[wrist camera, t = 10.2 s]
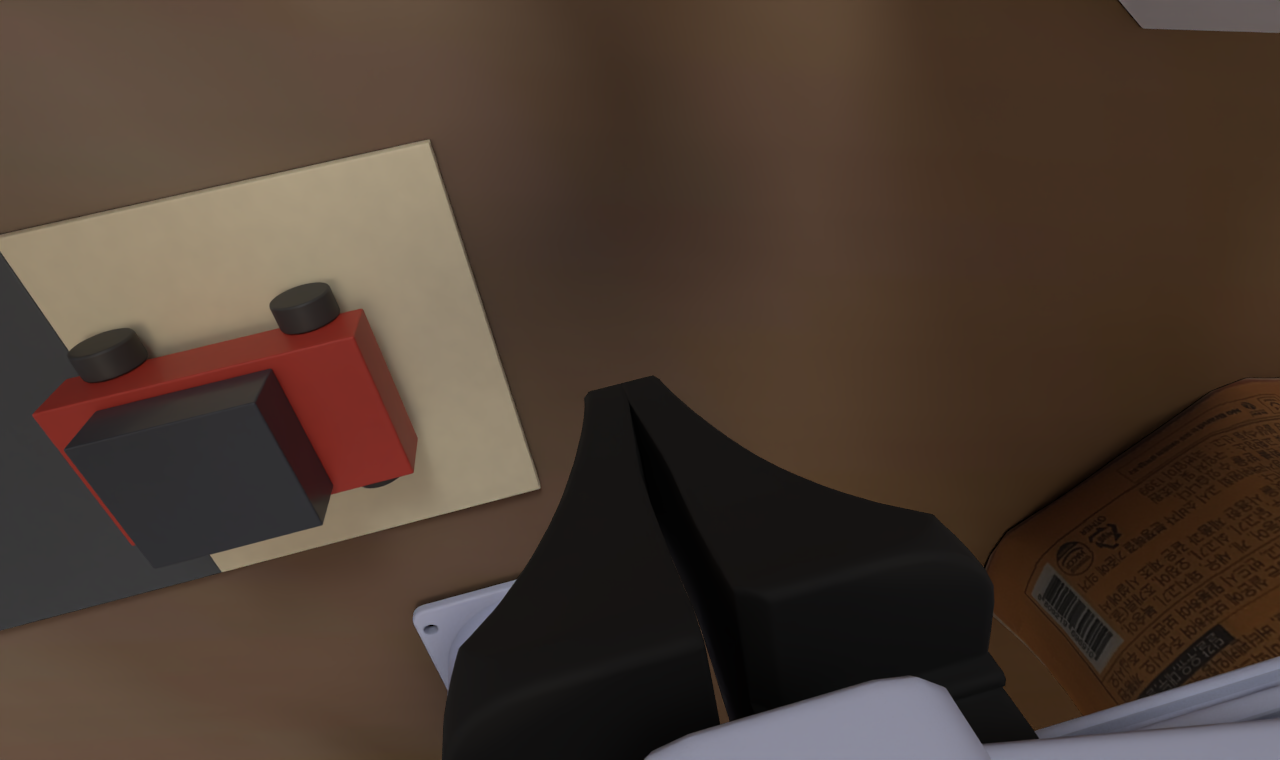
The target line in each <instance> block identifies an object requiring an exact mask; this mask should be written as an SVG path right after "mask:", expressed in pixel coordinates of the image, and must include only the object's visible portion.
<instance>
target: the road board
mask: <svg viewBox="0 0 1280 760" xmlns="http://www.w3.org/2000/svg"><path fill="white" fill-rule="evenodd" d="M315 282H322V283H326V284H328V285H329V286H330V287H331V290H332V292H333V294H334V297H335V299H336V301H337V303H338V306H339V308H340V313H344V312H348V311H353V310H357V309H363V310H364V312H365V315H366V317H367V319H368V322H369V324H370V327H371V329H372V331H373V334H374V336H375V338H376V341H377V343H378V345H379V348H380V350H381V352H382V355H383V357H384V360H385V362H386V364H387V367H388V369H389V371H390V374H391V376H392V378H393V381H394V383H395V385H396V388H397V390H398V393H399V395H400V397H401V400H402V402H403V404H404V407H405V409H406V411H407V414H408V416H409V418H410V421H411V423H412V426H413V428H414V430H415V433H416V435H417V437H418V442H417V450H416V458H415V466H414V473H412V474H409V475H405V476H401V477H399V478H398V479H396V480H395V481H393V482H391V483H390V484H387V485H385V486H382V487H378V488H364V487H359V488H355V489H351V490H347V491H343V492H340V493H336V494H332V495H331V496H330V500H329V504H328V508H327V511H326V515H325V519H324V522H323V525H322V526H318V527H314V528H310V529H307V530H303V531H299V532H295V533H291V534H287V535H284V536H280V537H276V538H272V539H268V540H265V541H261V542H257V543H253V544H249V545H246V546H242V547H238V548H234V549H230V550H226V551H223V552H219V553H215V554H211V555H207V556H204V557H200V558H196V559H192V560H188V561H184V562H181V563H177V564H173V565H169V566H165V567H162V568H158V569H154V568H153V567H152V566H151V564H150V563H149V562H148V560H147V559H146V558H145V557H144V555H143V554H142V553H141V551H140V550H139V549H138V547H137V546H136V545H135V546H132V545H131V544H130V543H129V541H128V540H127V539H126V537H125V536H124V535H123V534H122V532H121V531H120V530H119V528H118V527H117V526H116V524H115V523H114V522H113V520H112V519H111V518H110V517H109V515H108V514H107V513H106V511H105V510H104V509H103V507H102V506H101V505H100V504H99V502H98V501H97V500H96V498H95V497H94V496H93V494H92V493H91V492H90V491H89V489H88V488H87V487H86V485H85V484H84V483H83V481H82V480H81V479H80V478H79V476H78V475H77V474H76V472H75V471H74V470H73V468H72V467H71V466H70V464H69V463H68V462H67V461H66V459H65V458H64V457H63V455H62V454H61V453H60V451H59V450H58V449H57V448H56V446H55V445H54V444H53V442H52V441H51V440H50V438H49V437H48V436H47V435H46V433H45V432H44V431H43V429H42V428H41V427H40V425H39V424H38V423H37V422H36V420H35V419H34V418H33V416H32V414H33V413H34V412H35V411H36V410H37V409H38V408H39V407H40V406H41V405H42V404H43V403H44V402H45V400H46V399H47V398H48V397H49V396H50V395H51V394H52V393H53V392H54V391H55V390H56V389H57V388H58V387H59V386H60V385H61V384H62V383H63V382H64V381H65V380H66V379H70V378H74V377H78V376H79V374H78V373H77V371H76V370H75V368H74V367H73V366H72V364H71V363H70V361H69V360H68V358H67V353H68V352H69V351H70V350H71V349H72V348H73V347H74V346H76V345H77V344H79V343H80V342H82V341H84V340H86V339H88V338H90V337H92V336H95V335H97V334H100V333H103V332H106V331H110V330H114V329H119V328H130V329H132V330H134V331H135V332H136V334H137V336H138V337H139V339H140V340H141V342H142V344H143V345H144V347H145V348H146V350H147V352H148V358H147V359H146V360H149V359H153V358H157V357H161V356H165V355H169V354H174V353H178V352H182V351H186V350H190V349H194V348H199V347H203V346H207V345H211V344H215V343H219V342H224V341H228V340H232V339H236V338H240V337H244V336H249V335H253V334H257V333H261V332H265V331H269V330H273V329H278V328H279V326H278V324H277V322H276V320H275V318H274V316H273V314H272V312H271V310H270V308H269V304H270V302H271V301H272V300H273V299H274V298H275V297H276V296H278V295H279V294H281V293H283V292H285V291H287V290H289V289H291V288H294V287H297V286H300V285H304V284H308V283H315ZM340 313H339V314H340ZM537 489H540V481H539V478H538V475H537V471H536V468H535V465H534V462H533V459H532V456H531V453H530V450H529V447H528V443H527V440H526V437H525V434H524V431H523V428H522V425H521V422H520V419H519V415H518V412H517V409H516V406H515V403H514V400H513V397H512V394H511V390H510V387H509V384H508V381H507V378H506V375H505V372H504V369H503V366H502V362H501V359H500V356H499V353H498V350H497V347H496V344H495V341H494V338H493V334H492V331H491V328H490V325H489V322H488V319H487V316H486V313H485V310H484V306H483V303H482V300H481V297H480V294H479V291H478V288H477V285H476V282H475V278H474V275H473V272H472V269H471V266H470V263H469V260H468V257H467V254H466V250H465V247H464V244H463V241H462V238H461V235H460V232H459V229H458V226H457V222H456V219H455V216H454V213H453V210H452V207H451V204H450V201H449V197H448V194H447V191H446V188H445V185H444V182H443V179H442V176H441V173H440V169H439V166H438V163H437V160H436V157H435V154H434V151H433V148H432V145H431V141H430V140H423V141H419V142H414V143H410V144H405V145H401V146H396V147H392V148H387V149H383V150H378V151H374V152H369V153H365V154H360V155H356V156H351V157H347V158H342V159H338V160H333V161H329V162H324V163H320V164H315V165H311V166H306V167H302V168H297V169H293V170H288V171H284V172H279V173H275V174H270V175H266V176H261V177H257V178H252V179H248V180H243V181H239V182H234V183H230V184H225V185H221V186H216V187H212V188H207V189H203V190H198V191H194V192H189V193H185V194H180V195H176V196H171V197H167V198H162V199H158V200H153V201H149V202H144V203H140V204H135V205H131V206H126V207H122V208H117V209H113V210H108V211H104V212H99V213H95V214H90V215H86V216H81V217H77V218H72V219H68V220H63V221H59V222H54V223H50V224H45V225H41V226H36V227H32V228H28V229H23V230H19V231H14V232H10V233H5V234H1V235H0V631H1V630H5V629H8V628H12V627H16V626H20V625H24V624H27V623H31V622H35V621H39V620H43V619H46V618H50V617H54V616H58V615H62V614H65V613H69V612H73V611H77V610H81V609H84V608H88V607H92V606H96V605H100V604H103V603H107V602H111V601H115V600H119V599H122V598H126V597H130V596H134V595H138V594H141V593H145V592H149V591H153V590H157V589H161V588H164V587H168V586H172V585H176V584H180V583H183V582H187V581H191V580H195V579H199V578H202V577H206V576H210V575H214V574H218V573H221V572H225V571H229V570H233V569H237V568H240V567H244V566H248V565H252V564H256V563H259V562H263V561H267V560H271V559H275V558H278V557H282V556H286V555H290V554H294V553H298V552H301V551H305V550H309V549H313V548H317V547H320V546H324V545H328V544H332V543H336V542H339V541H343V540H347V539H351V538H355V537H358V536H362V535H366V534H370V533H374V532H377V531H381V530H385V529H389V528H393V527H396V526H400V525H404V524H408V523H412V522H415V521H419V520H423V519H427V518H431V517H435V516H438V515H442V514H446V513H450V512H454V511H457V510H461V509H465V508H469V507H473V506H476V505H480V504H484V503H488V502H492V501H495V500H499V499H503V498H507V497H511V496H514V495H518V494H522V493H526V492H530V491H533V490H537Z"/></svg>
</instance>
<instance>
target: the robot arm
mask: <svg viewBox="0 0 1280 760" xmlns="http://www.w3.org/2000/svg"><path fill="white" fill-rule="evenodd" d="M584 402H585V411H584V420H583V427H582V432H581V437H580V441H579V445H578V449H577V453H576V457H575V461H574V464H573V467H572V470H571V473H570V476H569V479H568V482H567V485H566V488H565V491H564V493H563V496H562V498H561V501H560V503H559V505H558V508H557V510H556V512H555V514H554V516H553V518H552V521H551V523H550V525H549V527H548V529H547V531H546V532H545V534H544V536H543V538H542V540H541V541H540V543H539V545H538V547H537V549H536V550H535V552H534V554H533V556H532V557H531V559H530V560H529V562H528V564H527V565H526V567H525V568H524V570H523V571H522V573H521V574H520V575H519V577H518V578H517V579H516V580H513V581H509V582H505V583H502V584H498V585H494V586H491V587H487V588H483V589H480V590H476V591H472V592H469V593H465V594H461V595H458V596H454V597H450V598H447V599H443V600H439V601H435V602H432V603H428V604H424V605H422V606H419V607H417V608H416V609H415V611H414V613H413V624H414V626H415V628H416V630H417V632H418V634H419V636H420V637H421V639H422V641H423V643H424V645H425V647H426V649H427V651H428V653H429V655H430V657H431V659H432V661H433V663H434V665H435V667H436V669H437V670H438V672H439V674H440V676H441V678H442V680H443V682H444V684H445V686H446V688H447V690H448V692H447V701H446V707H445V714H444V725H443V749H442V760H1280V656H1279V657H1275V658H1272V659H1269V660H1265V661H1262V662H1259V663H1256V664H1252V665H1249V666H1246V667H1243V668H1239V669H1236V670H1233V671H1229V672H1226V673H1223V674H1220V675H1216V676H1213V677H1210V678H1207V679H1203V680H1200V681H1197V682H1193V683H1190V684H1187V685H1184V686H1180V687H1177V688H1174V689H1170V690H1167V691H1164V692H1161V693H1157V694H1154V695H1151V696H1148V697H1144V698H1141V699H1138V700H1134V701H1131V702H1128V703H1125V704H1121V705H1118V706H1115V707H1112V708H1108V709H1105V710H1102V711H1098V712H1095V713H1092V714H1089V715H1085V716H1082V717H1079V718H1076V719H1072V720H1069V721H1066V722H1062V723H1059V724H1056V725H1053V726H1049V727H1046V728H1043V729H1040V730H1036V731H1034V730H1033V729H1032V727H1031V726H1030V725H1029V723H1028V722H1027V721H1026V719H1025V718H1024V716H1023V715H1022V714H1021V712H1020V711H1019V709H1018V708H1017V707H1016V705H1015V704H1014V702H1013V701H1012V700H1011V698H1010V697H1009V696H1008V694H1007V693H1006V691H1005V690H1004V689H1003V687H1002V686H1005V682H1006V678H1005V676H1004V673H1003V671H1002V670H1001V668H1000V667H999V666H998V664H997V663H996V662H995V660H994V659H993V657H992V656H991V655H990V653H989V652H988V647H989V640H990V632H991V625H992V618H993V610H994V603H995V602H994V585H993V583H992V581H991V579H990V577H989V575H988V573H987V571H986V570H985V569H984V567H983V566H982V565H981V564H980V562H979V561H978V560H977V559H976V558H975V556H974V555H973V554H972V553H971V552H970V551H969V549H968V548H967V547H966V546H965V545H964V544H963V543H962V542H961V541H960V540H959V539H958V538H957V537H956V536H955V535H954V534H953V533H952V532H951V531H950V530H949V529H948V528H946V527H945V526H944V525H943V524H942V523H941V522H940V521H939V520H938V519H937V518H936V517H935V516H934V515H933V514H928V513H923V512H919V511H914V510H909V509H904V508H900V507H895V506H890V505H886V504H881V503H877V502H873V501H870V500H866V499H863V498H859V497H856V496H853V495H849V494H846V493H843V492H840V491H837V490H834V489H831V488H828V487H825V486H822V485H820V484H817V483H815V482H812V481H810V480H807V479H805V478H802V477H800V476H797V475H795V474H793V473H790V472H788V471H786V470H784V469H782V468H780V467H778V466H776V465H774V464H772V463H770V462H768V461H766V460H764V459H762V458H760V457H759V456H757V455H755V454H753V453H752V452H750V451H749V450H747V449H745V448H744V447H742V446H741V445H739V444H738V443H736V442H734V441H733V440H731V439H730V438H728V437H727V436H725V435H724V434H723V433H721V432H720V431H718V430H717V429H716V428H714V427H713V426H712V425H710V424H709V423H708V422H707V421H705V420H704V419H703V418H701V417H700V416H699V415H698V414H696V413H695V412H694V411H693V410H691V409H690V408H689V407H688V406H687V405H686V404H684V403H683V402H682V401H681V400H680V399H679V398H678V397H677V396H676V395H674V394H673V393H672V392H671V391H670V390H669V389H668V388H667V387H666V386H665V385H664V384H663V383H662V382H661V381H660V379H658V378H656V377H655V376H649V377H645V378H641V379H637V380H633V381H629V382H625V383H621V384H617V385H613V386H609V387H605V388H601V389H598V390H594V391H590V392H588V394H587V395H586V396H585V398H584ZM671 557H672V558H671ZM673 562H674V563H673ZM674 564H675V565H674ZM676 569H677V570H676ZM677 571H678V572H677ZM679 576H680V577H679ZM680 578H681V579H680ZM681 581H682V582H681ZM682 583H683V584H682ZM683 585H684V586H683ZM684 588H685V589H684ZM685 590H686V591H685ZM686 592H687V593H686ZM689 599H690V600H689ZM692 606H693V607H692ZM693 609H694V610H693ZM694 611H695V613H694ZM695 614H696V616H695ZM696 617H697V619H698V622H699V625H700V627H701V630H702V634H703V637H704V640H705V643H706V646H707V650H708V653H709V656H710V659H711V662H712V666H713V669H714V672H715V675H716V678H717V682H718V685H719V688H720V691H721V695H722V698H723V701H724V704H725V708H726V711H727V714H728V717H729V721H730V722H727V723H724V724H720V721H719V716H718V711H717V705H716V700H715V695H714V690H713V684H712V679H711V674H710V669H709V663H708V658H707V653H706V648H705V644H704V640H703V637H702V634H701V631H700V628H699V625H698V622H697V619H696ZM428 625H435V626H428Z"/></svg>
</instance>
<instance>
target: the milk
mask: <svg viewBox="0 0 1280 760" xmlns="http://www.w3.org/2000/svg"><path fill="white" fill-rule="evenodd" d="M1119 1H1120V2H1121V4H1122V5H1123V6H1124V7H1125V8H1126V9H1127V11H1128V12H1129V13H1130V14H1131V15H1132V17H1133V18H1134V19H1135V20H1136V21H1137V23H1138V24H1139V25H1140V26H1141V27H1142V28H1143V29H1174V30H1206V31H1238V32H1269V33H1280V0H1119Z"/></svg>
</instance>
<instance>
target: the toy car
mask: <svg viewBox="0 0 1280 760" xmlns="http://www.w3.org/2000/svg"><path fill="white" fill-rule="evenodd" d="M269 308H270V310H271V312H272V314H273V316H274V318H275V320H276V322H277V324H278V326H279V328H278V329H273V330H269V331H265V332H261V333H257V334H253V335H249V336H244V337H240V338H236V339H232V340H228V341H224V342H219V343H215V344H211V345H207V346H203V347H199V348H194V349H190V350H186V351H182V352H178V353H174V354H169V355H165V356H161V357H157V358H153V359H149V360H146V359H147V358H148V352H147V350H146V348H145V347H144V345H143V344H142V342H141V340H140V339H139V337H138V336H137V334H136V332H135V331H134V330H132V329H130V328H119V329H114V330H110V331H106V332H103V333H100V334H97V335H95V336H92V337H90V338H88V339H86V340H84V341H82V342H80V343H79V344H77V345H76V346H74V347H73V348H72V349H71V350H70V351H69V352H68V353H67V358H68V360H69V361H70V363H71V364H72V366H73V367H74V368H75V370H76V371H77V373H78V374H79V376H78V377H74V378H70V379H66V380H65V381H64V382H63V383H62V384H61V385H60V386H59V387H58V388H57V389H56V390H55V391H54V392H53V393H52V394H51V395H50V396H49V397H48V398H47V399H46V400H45V402H44V403H43V404H42V405H41V406H40V407H39V408H38V409H37V410H36V411H35V412H34V413H33V414H32V416H33V418H34V419H35V420H36V422H37V423H38V424H39V425H40V427H41V428H42V429H43V431H44V432H45V433H46V435H47V436H48V437H49V438H50V440H51V441H52V442H53V444H54V445H55V446H56V448H57V449H58V450H59V451H60V453H61V454H62V455H63V457H64V458H65V459H66V461H67V462H68V463H69V464H70V466H71V467H72V468H73V470H74V471H75V472H76V474H77V475H78V476H79V478H80V479H81V480H82V481H83V483H84V484H85V485H86V487H87V488H88V489H89V491H90V492H91V493H92V494H93V496H94V497H95V498H96V500H97V501H98V502H99V504H100V505H101V506H102V507H103V509H104V510H105V511H106V513H107V514H108V515H109V517H110V518H111V519H112V520H113V522H114V523H115V524H116V526H117V527H118V528H119V530H120V531H121V532H122V534H123V535H124V536H125V537H126V539H127V540H128V541H129V543H130V544H131V545H132V546H135V545H136V546H137V547H138V549H139V550H140V551H141V553H142V554H143V555H144V557H145V558H146V559H147V560H148V562H149V563H150V564H151V566H152V567H153V568H154V569H158V568H162V567H165V566H169V565H173V564H177V563H181V562H184V561H188V560H192V559H196V558H200V557H204V556H207V555H211V554H215V553H219V552H223V551H226V550H230V549H234V548H238V547H242V546H246V545H249V544H253V543H257V542H261V541H265V540H268V539H272V538H276V537H280V536H284V535H287V534H291V533H295V532H299V531H303V530H307V529H310V528H314V527H318V526H322V525H323V522H324V519H325V515H326V511H327V508H328V504H329V500H330V496H331V495H332V494H336V493H340V492H343V491H347V490H351V489H355V488H359V487H364V488H378V487H382V486H385V485H387V484H390V483H391V482H393V481H395V480H396V479H398V478H399V477H401V476H405V475H409V474H412V473H414V466H415V458H416V450H417V442H418V437H417V435H416V433H415V430H414V428H413V426H412V423H411V421H410V418H409V416H408V414H407V411H406V409H405V407H404V404H403V402H402V400H401V397H400V395H399V393H398V390H397V388H396V385H395V383H394V381H393V378H392V376H391V374H390V371H389V369H388V367H387V364H386V362H385V360H384V357H383V355H382V352H381V350H380V348H379V345H378V343H377V341H376V338H375V336H374V334H373V331H372V329H371V327H370V324H369V322H368V319H367V317H366V315H365V312H364V310H363V309H357V310H353V311H348V312H344V313H340V308H339V306H338V303H337V301H336V299H335V297H334V294H333V292H332V290H331V287H330V286H329V285H328V284H326V283H322V282H315V283H308V284H304V285H300V286H297V287H294V288H291V289H289V290H287V291H285V292H283V293H281V294H279V295H278V296H276V297H275V298H274V299H273V300H272V301H271V302H270V304H269ZM339 313H340V314H339Z"/></svg>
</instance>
